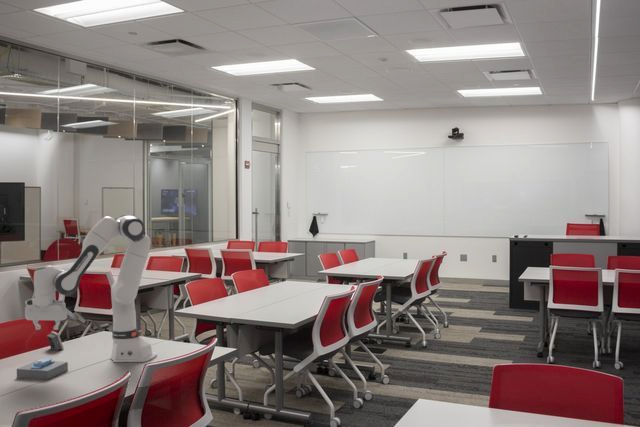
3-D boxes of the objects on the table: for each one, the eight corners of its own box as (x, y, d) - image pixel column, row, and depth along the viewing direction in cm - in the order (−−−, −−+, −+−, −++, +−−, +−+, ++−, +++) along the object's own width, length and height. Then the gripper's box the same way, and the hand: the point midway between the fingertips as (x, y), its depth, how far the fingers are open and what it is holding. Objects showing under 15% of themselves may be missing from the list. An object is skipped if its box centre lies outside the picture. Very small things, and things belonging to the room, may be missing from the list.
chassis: (67, 370, 274) (67, 361, 274) (47, 379, 260) (47, 370, 260) (38, 368, 277) (37, 360, 277) (16, 377, 264) (16, 369, 264)
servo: (54, 370, 274) (54, 356, 274) (38, 378, 263) (38, 362, 263) (47, 370, 275) (46, 355, 275) (31, 377, 264) (30, 362, 264)
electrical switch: (64, 349, 311) (61, 332, 311) (54, 352, 308) (51, 335, 307) (57, 346, 318) (55, 330, 317) (47, 349, 315) (45, 332, 314)
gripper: (69, 299, 275) (71, 328, 276) (31, 298, 279) (32, 327, 280) (60, 301, 269) (62, 331, 269) (21, 301, 273) (23, 330, 273)
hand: (47, 329), depth 274 cm, fingers open, 8 cm apart
